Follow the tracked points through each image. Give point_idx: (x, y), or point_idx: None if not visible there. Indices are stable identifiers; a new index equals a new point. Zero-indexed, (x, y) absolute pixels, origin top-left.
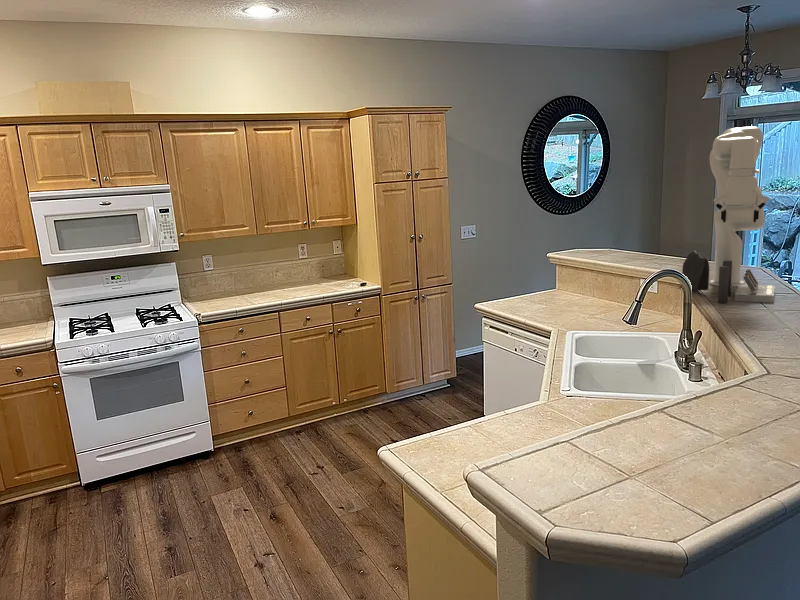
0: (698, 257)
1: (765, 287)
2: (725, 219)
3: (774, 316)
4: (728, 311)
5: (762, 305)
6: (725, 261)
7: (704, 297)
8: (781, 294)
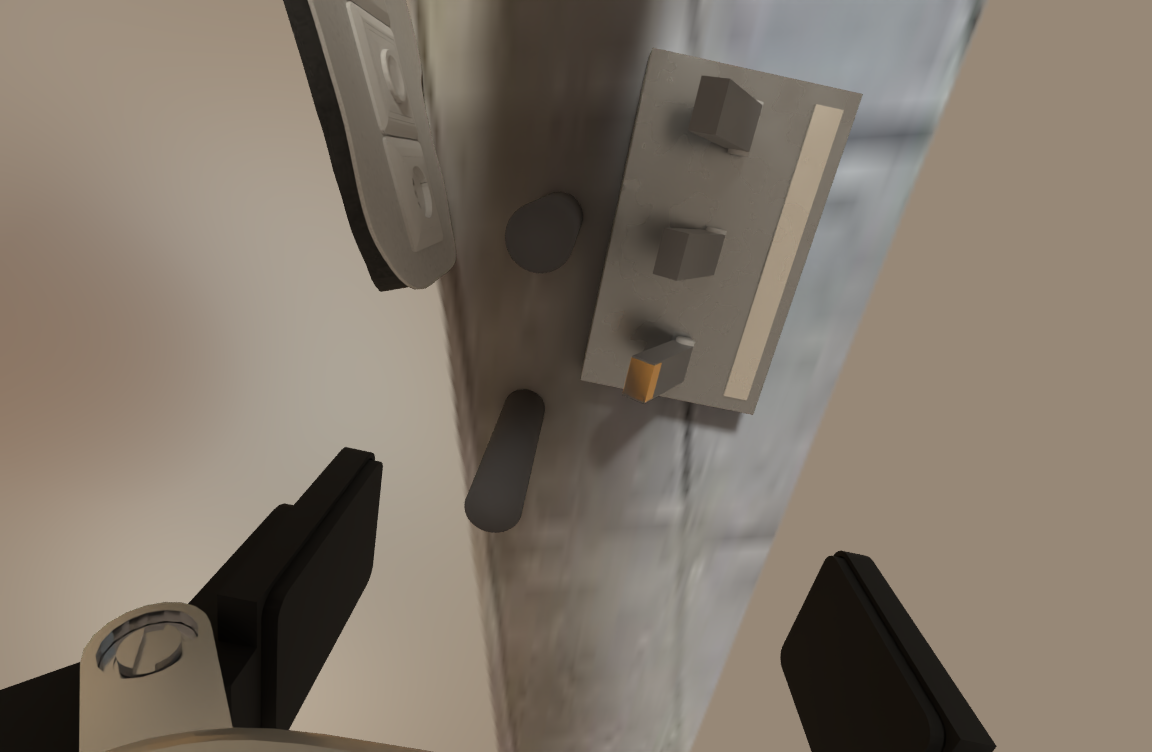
0: (294, 30)
1: (785, 163)
2: (361, 551)
3: (677, 626)
4: (531, 565)
5: (683, 454)
6: (522, 245)
7: (447, 285)
8: (857, 170)
